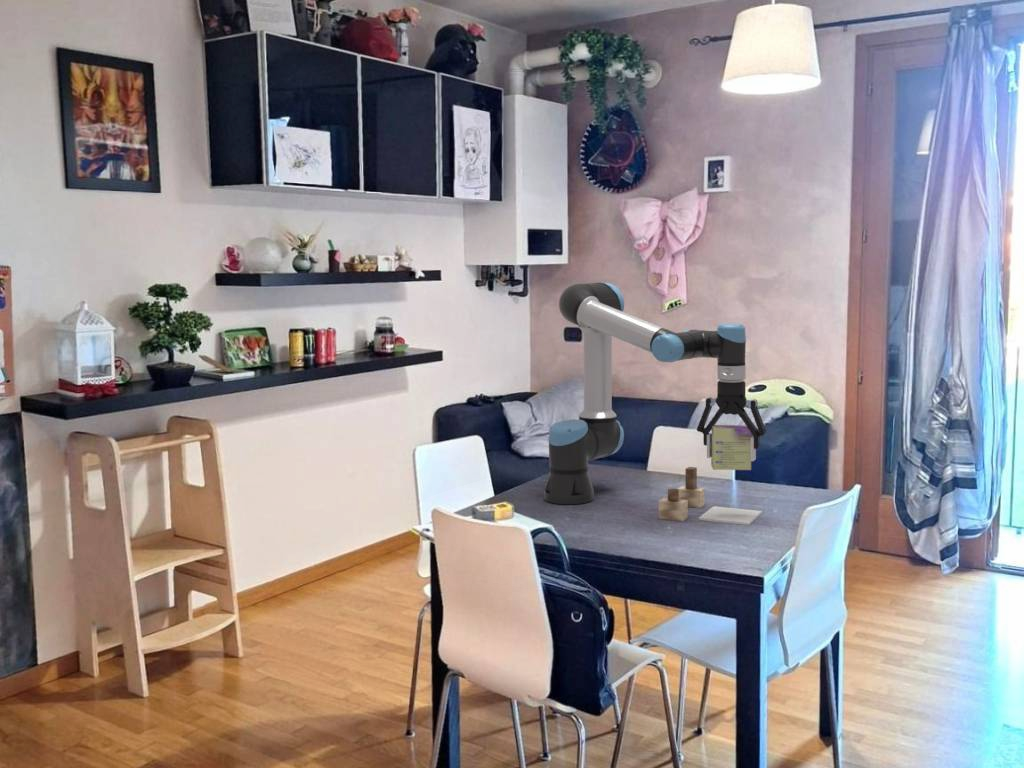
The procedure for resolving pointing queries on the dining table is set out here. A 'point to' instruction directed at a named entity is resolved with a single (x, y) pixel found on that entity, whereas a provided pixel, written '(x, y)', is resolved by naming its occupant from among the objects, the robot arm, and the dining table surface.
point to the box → (730, 447)
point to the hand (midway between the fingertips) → (731, 458)
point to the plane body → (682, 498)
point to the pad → (730, 515)
